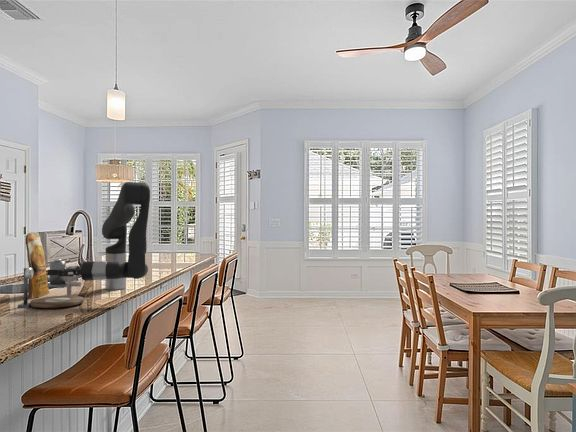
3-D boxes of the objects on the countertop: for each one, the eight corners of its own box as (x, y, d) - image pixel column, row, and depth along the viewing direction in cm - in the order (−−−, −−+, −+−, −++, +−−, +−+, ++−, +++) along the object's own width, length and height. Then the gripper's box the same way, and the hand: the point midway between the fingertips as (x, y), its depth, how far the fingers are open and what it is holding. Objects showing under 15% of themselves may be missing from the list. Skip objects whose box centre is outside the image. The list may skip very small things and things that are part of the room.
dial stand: (22, 305, 177) (22, 267, 177) (33, 305, 178) (33, 267, 178) (17, 307, 173) (17, 268, 173) (28, 307, 174) (28, 268, 173)
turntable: (41, 300, 187) (41, 295, 187) (89, 299, 190) (89, 295, 190) (21, 310, 168) (21, 305, 168) (75, 309, 171) (75, 304, 171)
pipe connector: (86, 293, 204) (86, 271, 204) (73, 297, 194) (73, 274, 194) (65, 293, 205) (65, 271, 205) (51, 297, 195) (51, 274, 195)
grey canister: (51, 285, 182) (51, 258, 182) (70, 285, 183) (70, 258, 183) (44, 288, 175) (44, 260, 175) (64, 287, 176) (64, 259, 176)
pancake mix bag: (19, 299, 189) (19, 233, 189) (37, 291, 208) (38, 231, 208) (36, 299, 190) (36, 233, 190) (53, 291, 209) (53, 231, 209)
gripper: (100, 259, 188) (57, 260, 186) (90, 263, 174) (43, 264, 171) (100, 277, 188) (57, 278, 186) (90, 282, 174) (43, 283, 171)
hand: (51, 271), depth 178 cm, fingers closed on grey canister, 5 cm apart
